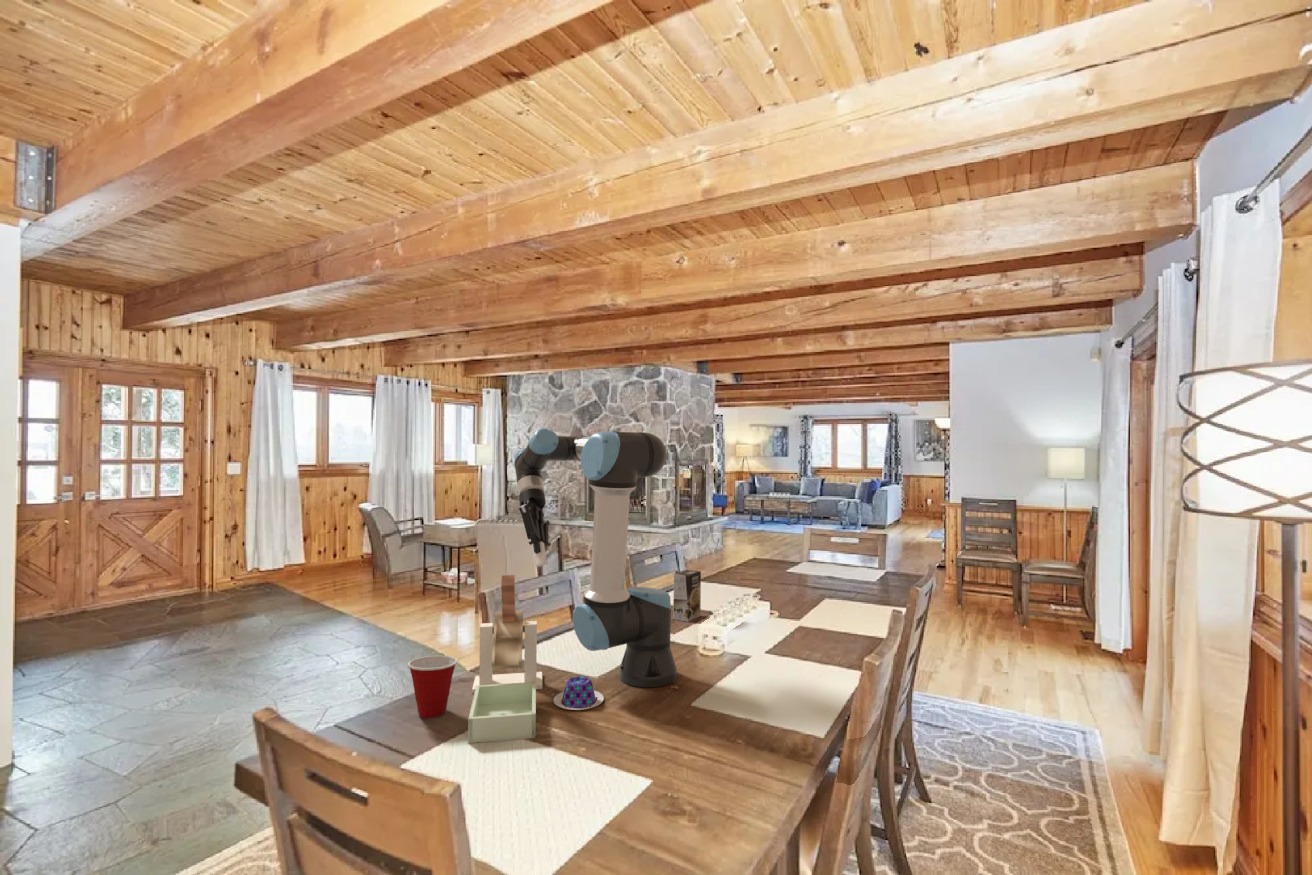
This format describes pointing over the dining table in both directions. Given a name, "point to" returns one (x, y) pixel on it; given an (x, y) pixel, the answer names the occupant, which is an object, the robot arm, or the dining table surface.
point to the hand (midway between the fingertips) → (541, 564)
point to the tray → (503, 712)
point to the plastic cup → (432, 683)
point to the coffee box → (687, 595)
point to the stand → (528, 675)
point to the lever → (507, 629)
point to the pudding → (578, 694)
